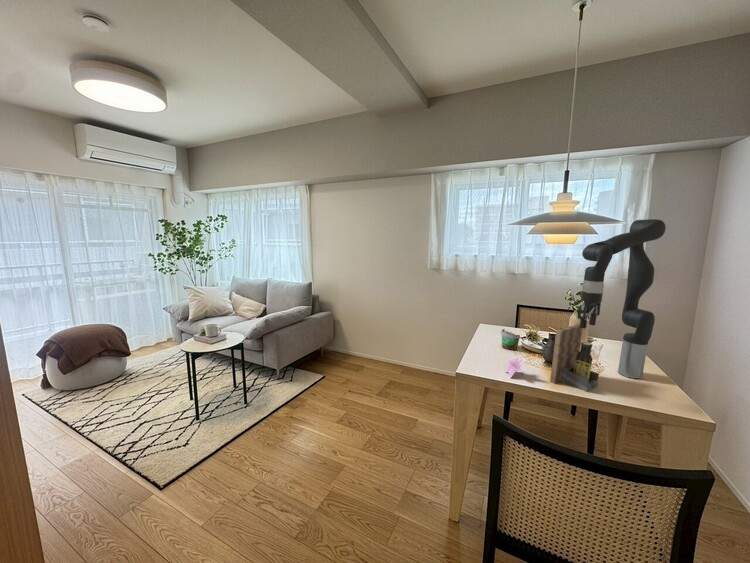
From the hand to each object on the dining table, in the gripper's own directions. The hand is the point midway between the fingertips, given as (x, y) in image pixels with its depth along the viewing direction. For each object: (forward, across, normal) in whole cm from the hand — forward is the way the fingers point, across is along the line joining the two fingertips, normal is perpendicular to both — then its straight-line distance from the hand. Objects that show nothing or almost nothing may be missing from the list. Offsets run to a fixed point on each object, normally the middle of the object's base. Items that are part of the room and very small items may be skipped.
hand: (587, 326), depth 133 cm
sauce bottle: (+28, 0, 0) cm, 28 cm away
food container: (+28, -9, -44) cm, 53 cm away
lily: (+28, +18, -21) cm, 39 cm away
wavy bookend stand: (+28, 0, -2) cm, 28 cm away
